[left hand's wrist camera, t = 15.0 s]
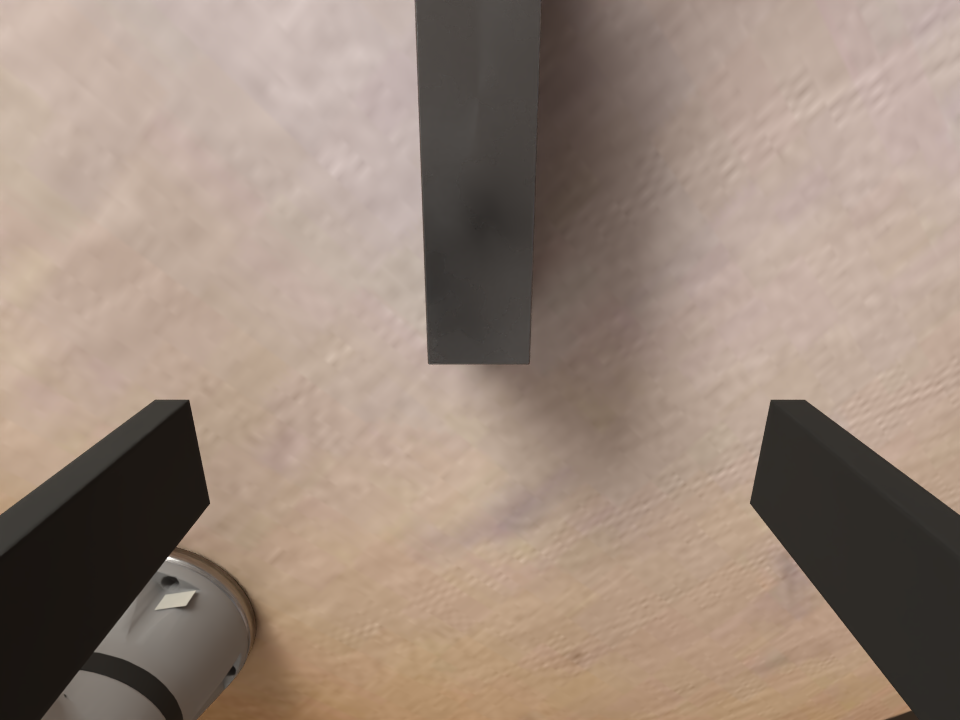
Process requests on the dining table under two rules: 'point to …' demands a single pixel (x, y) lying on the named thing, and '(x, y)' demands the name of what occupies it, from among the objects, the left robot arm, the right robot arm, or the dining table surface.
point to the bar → (478, 175)
